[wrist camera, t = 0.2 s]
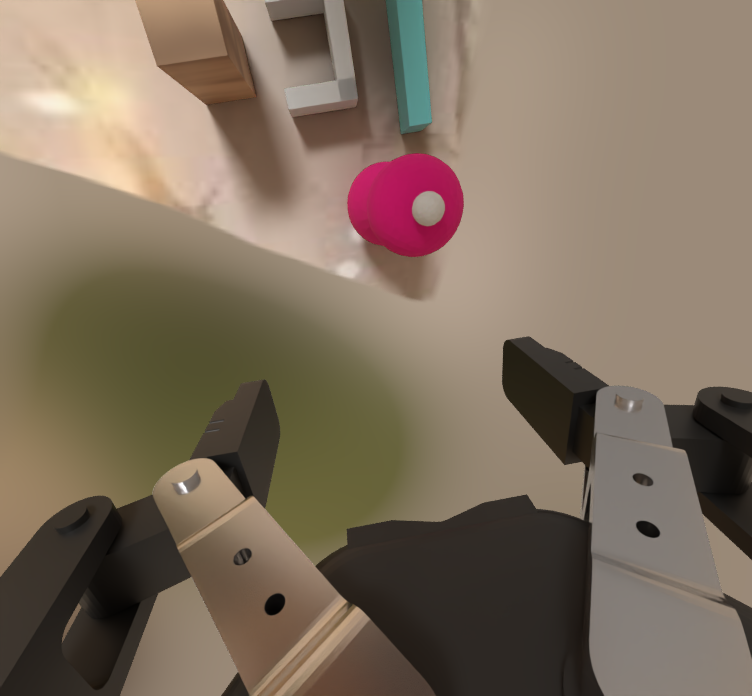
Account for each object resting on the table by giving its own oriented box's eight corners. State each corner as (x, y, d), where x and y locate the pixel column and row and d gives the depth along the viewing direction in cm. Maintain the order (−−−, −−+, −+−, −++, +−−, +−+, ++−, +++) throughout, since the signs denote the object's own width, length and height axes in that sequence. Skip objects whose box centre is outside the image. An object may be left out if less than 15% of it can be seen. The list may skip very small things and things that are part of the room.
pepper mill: (423, 178, 36) (521, 155, 18) (402, 248, 39) (470, 291, 20) (355, 156, 35) (386, 105, 16) (338, 230, 37) (348, 259, 19)
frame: (265, -3, 29) (259, -24, 26) (337, -13, 30) (338, -35, 27) (291, 117, 33) (288, 109, 30) (355, 107, 33) (358, 98, 30)
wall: (378, -63, 29) (386, -101, 25) (402, -66, 29) (413, -104, 25) (400, 134, 34) (409, 126, 31) (420, 130, 35) (431, 122, 31)
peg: (187, 42, 30) (125, -28, 21) (240, 34, 30) (203, -39, 21) (206, 104, 32) (156, 65, 22) (256, 96, 32) (227, 55, 23)
